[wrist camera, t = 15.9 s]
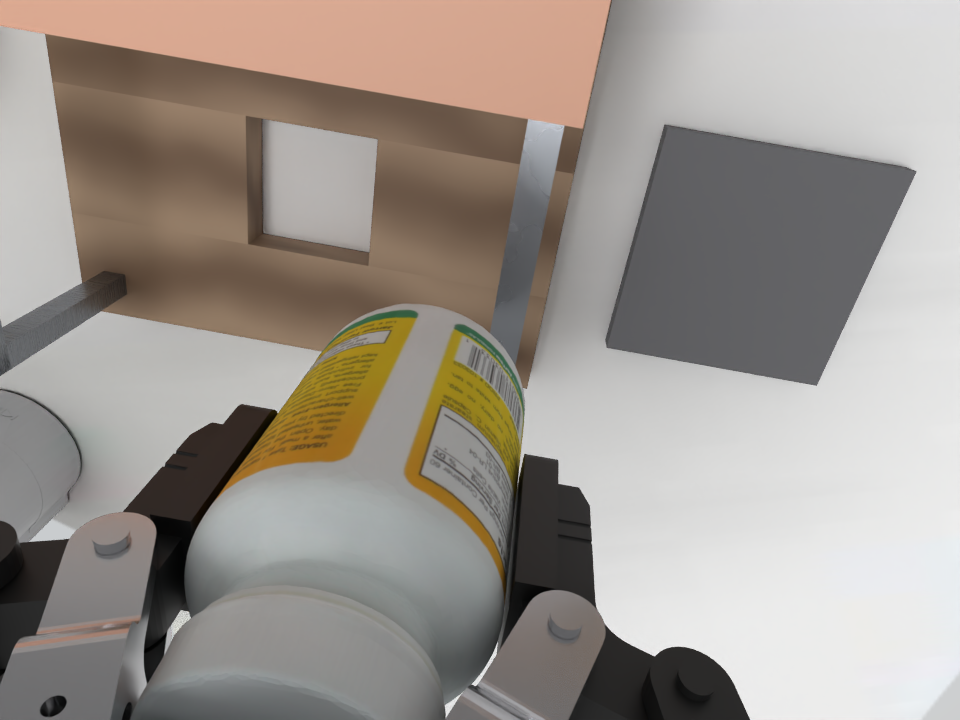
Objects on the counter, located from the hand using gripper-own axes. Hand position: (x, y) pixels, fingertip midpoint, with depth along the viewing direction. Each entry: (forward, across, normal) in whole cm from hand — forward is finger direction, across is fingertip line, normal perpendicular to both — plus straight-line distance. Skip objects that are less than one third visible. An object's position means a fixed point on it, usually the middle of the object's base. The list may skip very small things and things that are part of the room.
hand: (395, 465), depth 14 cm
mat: (+23, -14, +1) cm, 27 cm away
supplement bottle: (+3, 0, 0) cm, 3 cm away
